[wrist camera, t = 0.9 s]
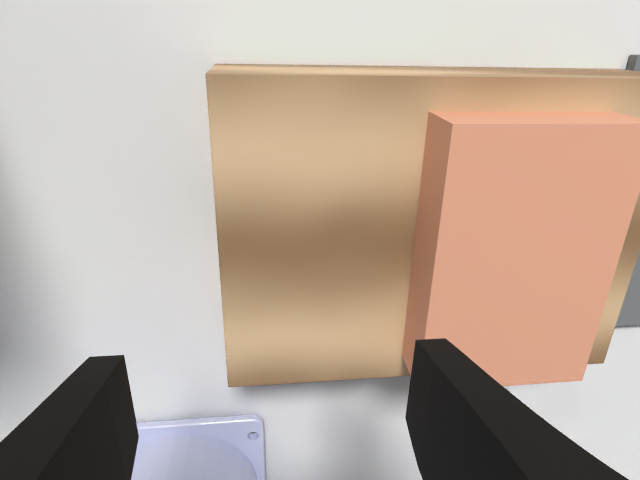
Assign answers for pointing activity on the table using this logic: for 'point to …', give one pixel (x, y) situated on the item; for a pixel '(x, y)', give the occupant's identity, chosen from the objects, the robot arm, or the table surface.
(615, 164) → the block
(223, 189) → the deck
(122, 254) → the table surface
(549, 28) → the table surface
